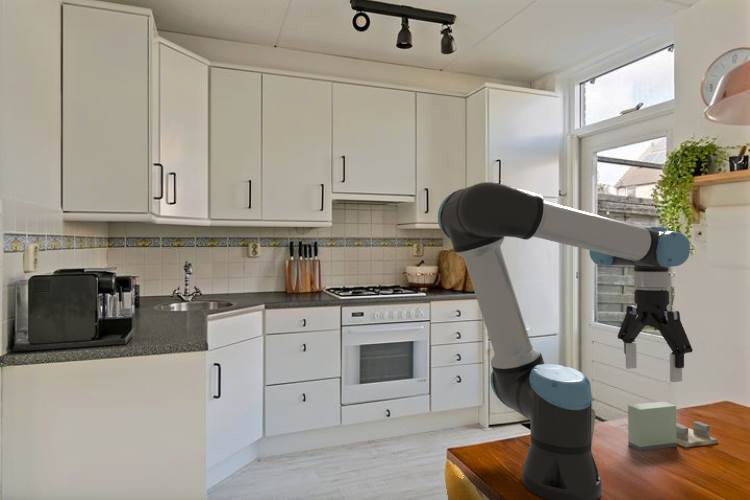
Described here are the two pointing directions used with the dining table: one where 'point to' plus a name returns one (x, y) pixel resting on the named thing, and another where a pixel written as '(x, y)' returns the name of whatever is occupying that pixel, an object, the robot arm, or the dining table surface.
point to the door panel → (652, 425)
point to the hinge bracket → (694, 435)
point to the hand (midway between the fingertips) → (652, 374)
